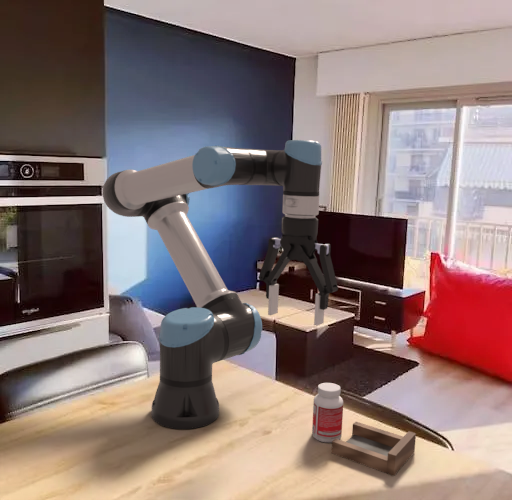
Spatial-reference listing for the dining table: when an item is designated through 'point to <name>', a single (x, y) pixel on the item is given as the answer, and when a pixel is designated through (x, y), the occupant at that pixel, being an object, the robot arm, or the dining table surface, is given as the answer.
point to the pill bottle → (327, 413)
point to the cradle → (376, 448)
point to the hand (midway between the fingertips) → (295, 318)
